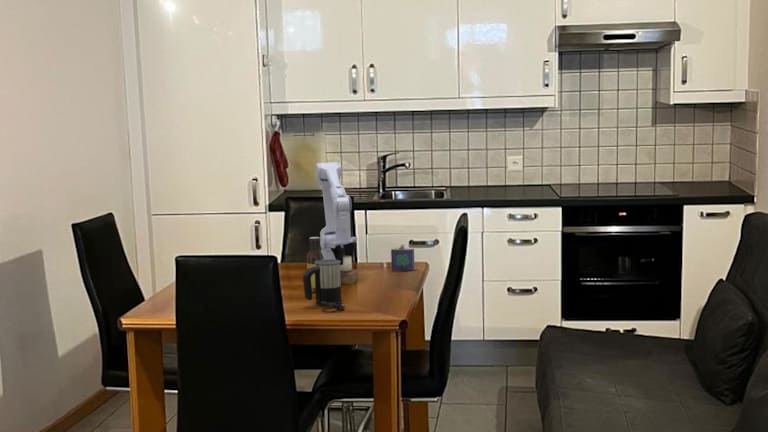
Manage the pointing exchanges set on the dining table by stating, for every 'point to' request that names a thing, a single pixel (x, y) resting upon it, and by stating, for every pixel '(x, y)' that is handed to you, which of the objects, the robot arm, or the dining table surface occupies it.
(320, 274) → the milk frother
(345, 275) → the block
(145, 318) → the dining table surface
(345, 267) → the cup
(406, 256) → the flask
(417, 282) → the dining table surface
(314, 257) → the sauce bottle
